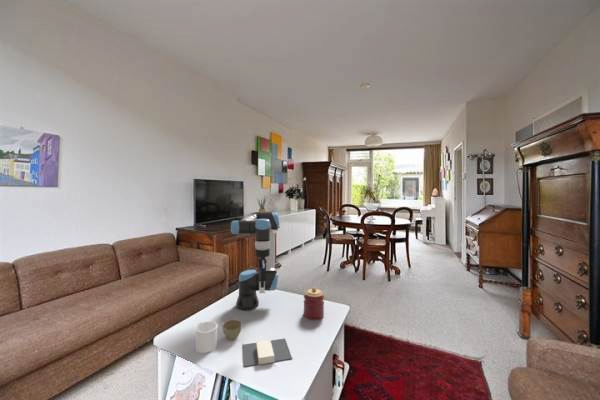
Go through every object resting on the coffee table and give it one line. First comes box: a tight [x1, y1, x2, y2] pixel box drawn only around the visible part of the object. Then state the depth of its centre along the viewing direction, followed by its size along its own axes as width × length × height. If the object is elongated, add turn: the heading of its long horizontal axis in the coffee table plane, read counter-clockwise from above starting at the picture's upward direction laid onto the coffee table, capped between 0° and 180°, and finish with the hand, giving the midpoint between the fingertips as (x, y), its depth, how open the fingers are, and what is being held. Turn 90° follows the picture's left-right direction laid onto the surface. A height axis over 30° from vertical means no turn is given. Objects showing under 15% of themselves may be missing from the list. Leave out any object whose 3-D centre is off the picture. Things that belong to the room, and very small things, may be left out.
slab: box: [255, 339, 275, 366], centre depth 116 cm, size 3×7×12 cm
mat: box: [242, 338, 293, 368], centre depth 118 cm, size 16×22×1 cm
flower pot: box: [221, 319, 243, 341], centre depth 130 cm, size 10×10×7 cm
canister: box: [303, 286, 325, 321], centre depth 155 cm, size 13×13×18 cm
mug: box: [195, 321, 218, 354], centre depth 122 cm, size 13×10×10 cm
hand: (261, 292), depth 129 cm, fingers closed
